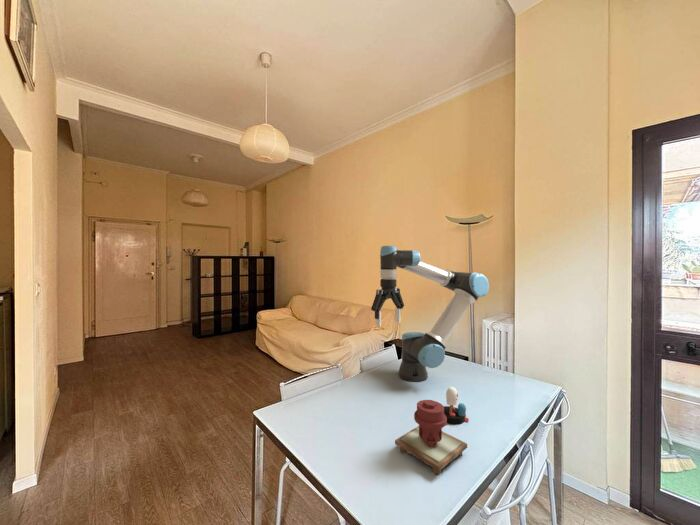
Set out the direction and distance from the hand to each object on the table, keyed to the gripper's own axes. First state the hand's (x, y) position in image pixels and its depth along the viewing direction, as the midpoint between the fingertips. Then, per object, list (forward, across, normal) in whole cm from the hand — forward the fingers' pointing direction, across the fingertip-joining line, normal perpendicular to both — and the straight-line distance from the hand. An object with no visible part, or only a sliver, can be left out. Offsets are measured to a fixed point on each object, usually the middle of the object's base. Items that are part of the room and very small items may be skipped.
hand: (388, 323), depth 135 cm
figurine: (+32, -2, +32) cm, 45 cm away
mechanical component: (+28, +22, +38) cm, 52 cm away
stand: (+32, +22, +38) cm, 54 cm away
